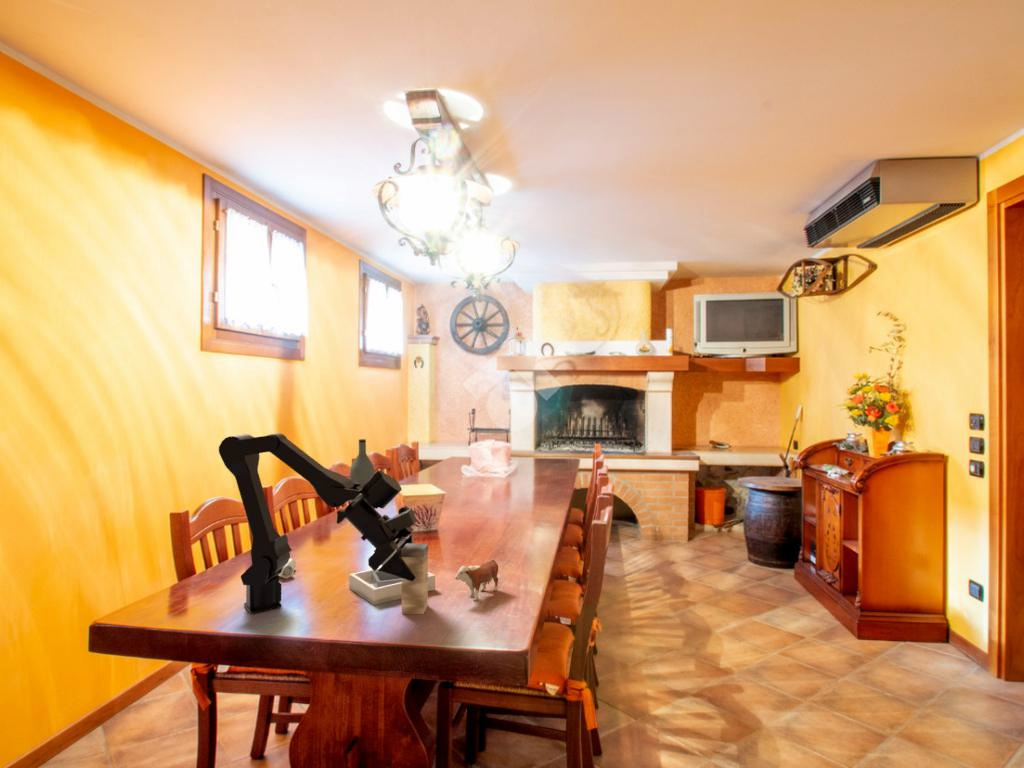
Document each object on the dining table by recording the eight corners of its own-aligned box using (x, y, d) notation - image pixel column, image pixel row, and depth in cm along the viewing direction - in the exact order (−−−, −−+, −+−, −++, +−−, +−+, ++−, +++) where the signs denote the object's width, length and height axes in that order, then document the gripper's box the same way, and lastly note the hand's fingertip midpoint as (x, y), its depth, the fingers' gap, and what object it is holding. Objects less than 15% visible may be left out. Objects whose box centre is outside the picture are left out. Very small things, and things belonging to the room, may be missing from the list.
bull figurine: (451, 601, 132) (451, 566, 132) (491, 586, 142) (490, 553, 142) (465, 606, 129) (465, 570, 129) (504, 590, 139) (504, 556, 139)
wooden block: (401, 613, 125) (401, 549, 125) (406, 605, 130) (406, 543, 130) (423, 614, 124) (423, 549, 124) (428, 605, 129) (428, 543, 129)
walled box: (374, 605, 129) (374, 589, 129) (349, 588, 140) (349, 574, 140) (435, 589, 139) (435, 575, 139) (407, 575, 150) (407, 561, 150)
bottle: (368, 515, 222) (368, 437, 222) (379, 519, 215) (379, 439, 215) (345, 518, 216) (345, 439, 216) (355, 522, 209) (355, 441, 209)
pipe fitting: (290, 569, 157) (266, 573, 152) (291, 555, 157) (267, 559, 152) (305, 576, 152) (280, 580, 147) (306, 561, 152) (281, 565, 147)
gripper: (383, 506, 118) (436, 559, 117) (404, 490, 137) (450, 536, 136) (345, 543, 118) (398, 597, 118) (372, 522, 137) (418, 569, 136)
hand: (418, 572), depth 127 cm, fingers open, 9 cm apart
